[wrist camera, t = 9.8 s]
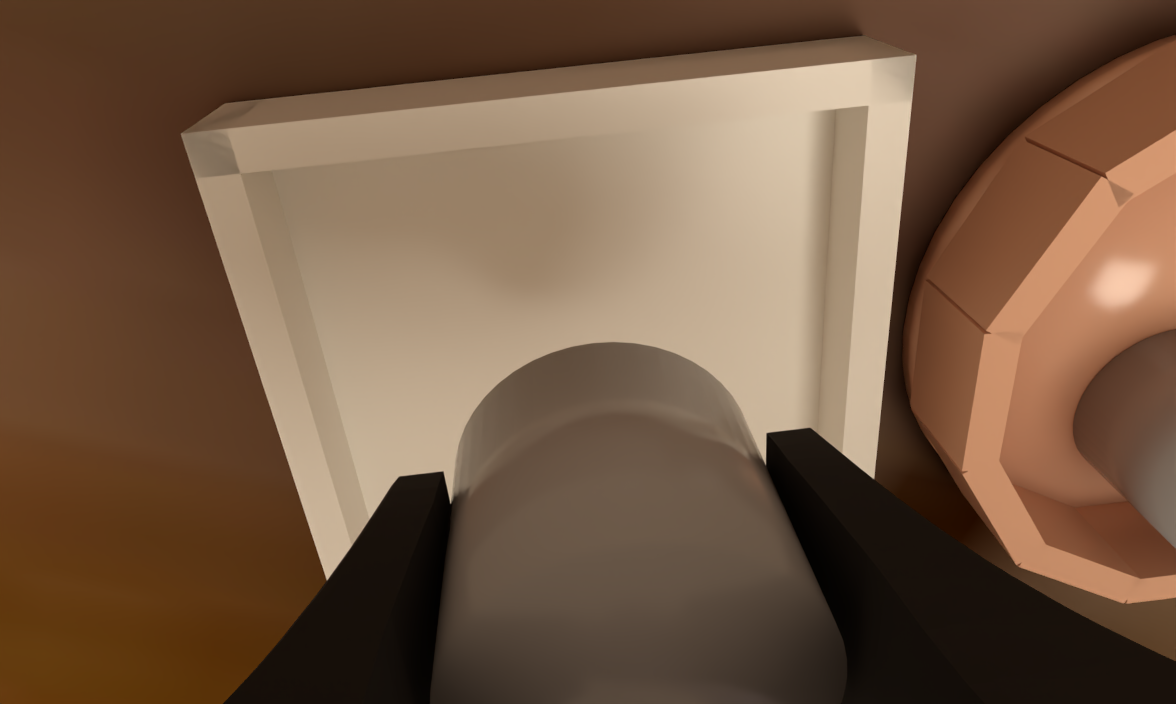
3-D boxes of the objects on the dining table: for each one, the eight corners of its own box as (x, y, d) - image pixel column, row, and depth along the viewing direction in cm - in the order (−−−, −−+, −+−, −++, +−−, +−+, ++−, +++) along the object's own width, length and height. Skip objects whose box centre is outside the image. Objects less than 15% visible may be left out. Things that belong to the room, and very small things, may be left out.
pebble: (751, 566, 13) (835, 803, 10) (480, 599, 13) (466, 852, 10) (752, 324, 11) (863, 516, 8) (429, 361, 11) (389, 574, 8)
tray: (821, 649, 25) (849, 719, 23) (402, 701, 25) (391, 777, 23) (864, 35, 17) (916, 54, 15) (225, 103, 16) (180, 133, 14)
